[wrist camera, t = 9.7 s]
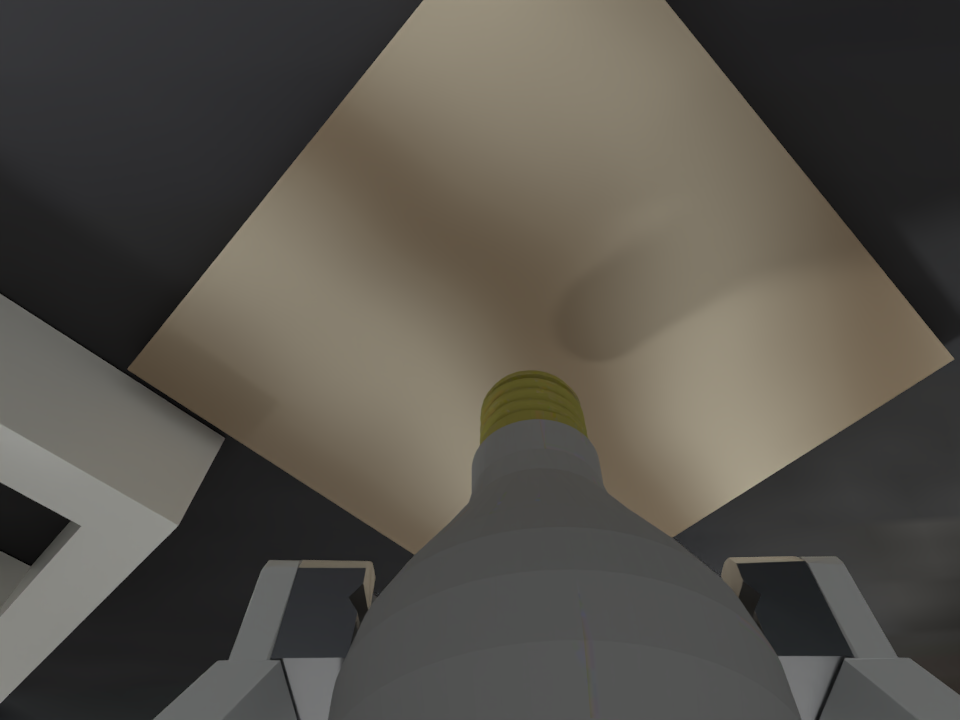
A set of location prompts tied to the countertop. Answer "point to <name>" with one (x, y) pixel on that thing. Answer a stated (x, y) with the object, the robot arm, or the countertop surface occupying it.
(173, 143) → the countertop surface
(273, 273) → the board
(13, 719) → the countertop surface
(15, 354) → the socket
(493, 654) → the light bulb
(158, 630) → the countertop surface
